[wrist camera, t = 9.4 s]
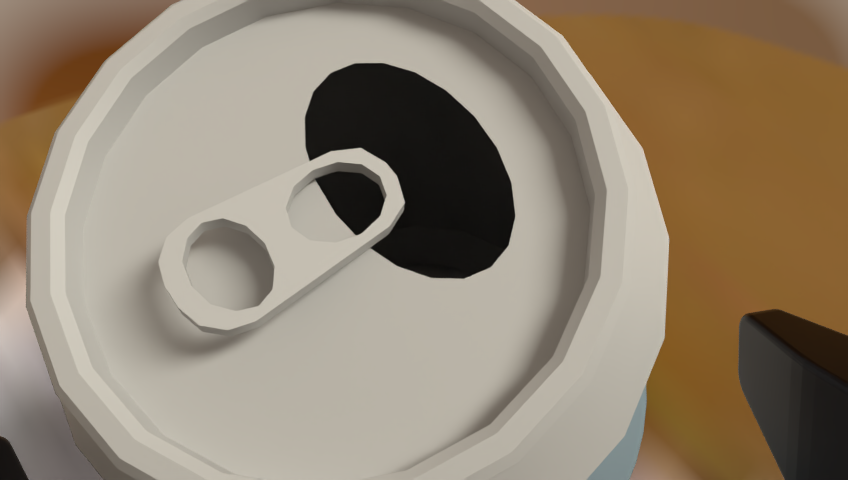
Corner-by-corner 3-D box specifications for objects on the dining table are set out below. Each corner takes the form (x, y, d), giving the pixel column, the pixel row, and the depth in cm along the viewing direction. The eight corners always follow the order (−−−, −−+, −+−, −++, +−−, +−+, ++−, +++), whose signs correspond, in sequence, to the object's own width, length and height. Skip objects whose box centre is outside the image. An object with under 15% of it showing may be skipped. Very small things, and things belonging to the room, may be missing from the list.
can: (639, 411, 18) (894, 256, 7) (385, 616, 17) (185, 837, 6) (448, 184, 20) (402, -214, 9) (215, 352, 19) (-166, 141, 8)
